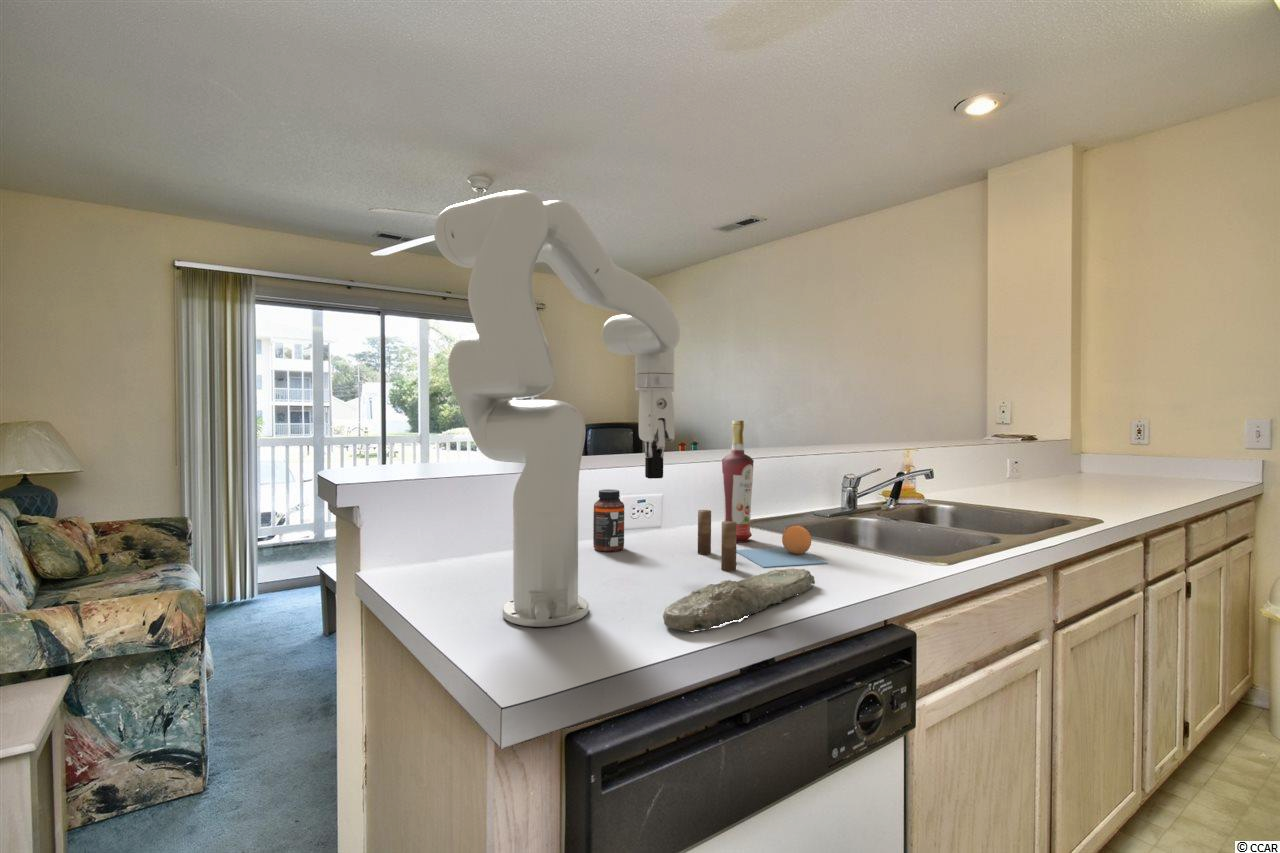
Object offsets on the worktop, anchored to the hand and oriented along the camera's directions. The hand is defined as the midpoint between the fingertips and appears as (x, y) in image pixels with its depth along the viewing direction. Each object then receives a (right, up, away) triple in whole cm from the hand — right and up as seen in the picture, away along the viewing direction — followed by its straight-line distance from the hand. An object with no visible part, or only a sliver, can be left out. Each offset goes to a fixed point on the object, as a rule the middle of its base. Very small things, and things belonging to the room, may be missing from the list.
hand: (654, 477), depth 115 cm
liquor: (+20, -17, +23) cm, 35 cm away
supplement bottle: (-10, -17, +14) cm, 24 cm away
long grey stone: (+14, -18, -23) cm, 33 cm away
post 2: (+14, -17, -3) cm, 23 cm away
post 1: (+11, -17, +10) cm, 22 cm away
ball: (+30, -14, +10) cm, 35 cm away
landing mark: (+26, -17, +7) cm, 32 cm away
